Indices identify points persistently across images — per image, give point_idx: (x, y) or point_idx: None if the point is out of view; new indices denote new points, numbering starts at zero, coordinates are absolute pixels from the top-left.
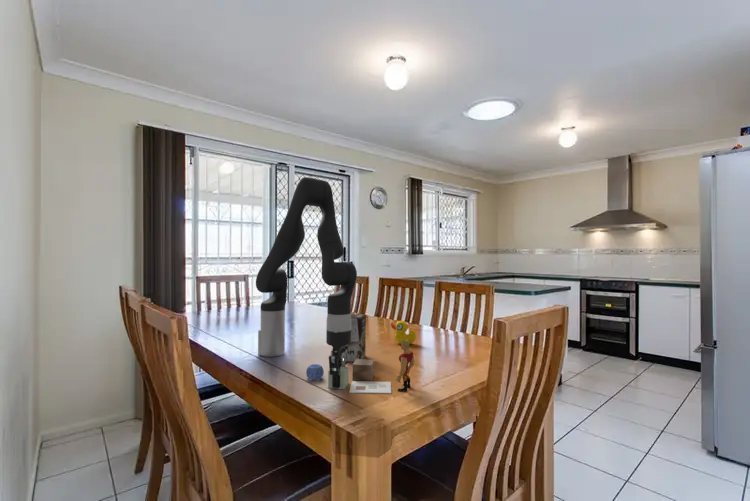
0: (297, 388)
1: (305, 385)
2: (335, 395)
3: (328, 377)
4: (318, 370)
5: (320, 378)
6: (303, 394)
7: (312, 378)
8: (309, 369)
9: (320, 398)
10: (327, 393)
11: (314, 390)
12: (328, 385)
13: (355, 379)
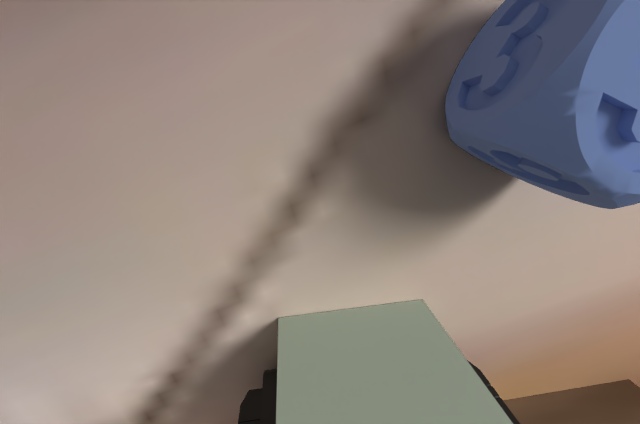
0: (150, 19)
1: (277, 79)
2: (143, 420)
3: (278, 402)
4: (553, 169)
5: (496, 166)
6: (17, 173)
7: (450, 97)
8: (575, 10)
9: (20, 353)
10: (155, 358)
11: (174, 233)
12: (279, 334)
13: None
